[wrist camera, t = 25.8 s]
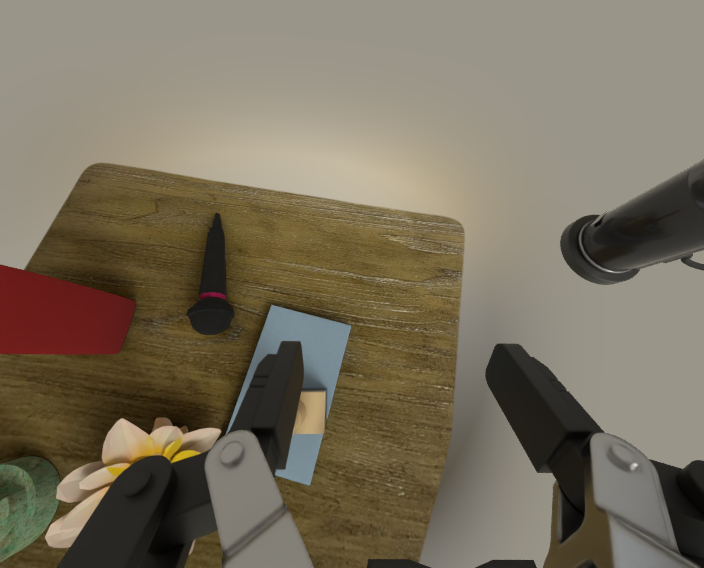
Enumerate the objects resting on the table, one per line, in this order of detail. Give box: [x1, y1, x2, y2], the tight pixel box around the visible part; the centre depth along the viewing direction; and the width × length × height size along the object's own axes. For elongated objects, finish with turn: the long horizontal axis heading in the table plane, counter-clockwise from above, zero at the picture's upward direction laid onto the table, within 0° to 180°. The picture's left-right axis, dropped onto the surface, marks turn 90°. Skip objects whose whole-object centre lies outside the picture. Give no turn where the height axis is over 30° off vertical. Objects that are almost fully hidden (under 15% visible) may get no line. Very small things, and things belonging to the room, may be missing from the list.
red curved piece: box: [0, 265, 136, 354], centre depth 27 cm, size 15×7×20 cm, turn 84°
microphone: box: [187, 213, 234, 335], centre depth 38 cm, size 6×6×20 cm
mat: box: [226, 305, 351, 485], centre depth 34 cm, size 12×20×1 cm, turn 165°
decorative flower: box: [45, 417, 221, 555], centre depth 27 cm, size 15×11×10 cm
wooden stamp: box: [292, 388, 327, 437], centre depth 28 cm, size 7×4×11 cm, turn 90°
